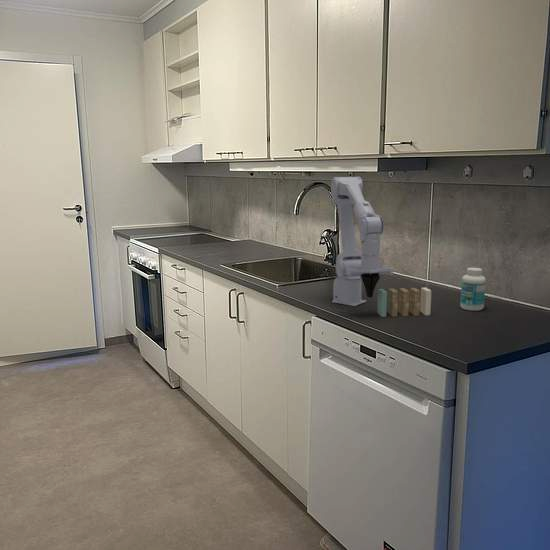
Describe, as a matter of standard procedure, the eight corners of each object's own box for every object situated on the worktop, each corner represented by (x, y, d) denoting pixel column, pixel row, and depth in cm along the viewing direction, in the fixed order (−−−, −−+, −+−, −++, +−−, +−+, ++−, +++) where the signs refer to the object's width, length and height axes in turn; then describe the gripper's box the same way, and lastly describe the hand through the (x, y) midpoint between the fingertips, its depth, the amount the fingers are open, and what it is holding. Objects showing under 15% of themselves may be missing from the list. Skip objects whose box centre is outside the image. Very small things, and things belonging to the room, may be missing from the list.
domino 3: (403, 316, 170) (404, 291, 168) (398, 312, 174) (399, 288, 172) (408, 315, 170) (409, 291, 168) (403, 311, 174) (404, 288, 173)
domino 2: (392, 316, 169) (393, 292, 168) (388, 312, 174) (388, 288, 172) (397, 316, 169) (398, 291, 168) (392, 312, 174) (393, 288, 172)
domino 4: (414, 315, 170) (415, 291, 168) (409, 311, 174) (410, 288, 173) (419, 315, 170) (420, 291, 168) (414, 311, 175) (415, 287, 173)
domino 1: (381, 316, 169) (382, 292, 167) (377, 312, 173) (378, 289, 172) (386, 316, 169) (387, 292, 168) (382, 312, 174) (382, 288, 172)
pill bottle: (455, 306, 180) (457, 267, 177) (472, 304, 182) (475, 266, 179) (470, 312, 173) (473, 271, 170) (488, 310, 175) (491, 269, 173)
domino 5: (425, 315, 170) (426, 290, 169) (420, 311, 175) (421, 287, 173) (430, 315, 170) (431, 290, 169) (424, 311, 175) (426, 287, 173)
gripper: (350, 257, 162) (349, 300, 165) (396, 256, 164) (395, 298, 166) (345, 253, 169) (344, 295, 172) (389, 252, 171) (388, 293, 173)
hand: (369, 296), depth 170 cm, fingers closed
